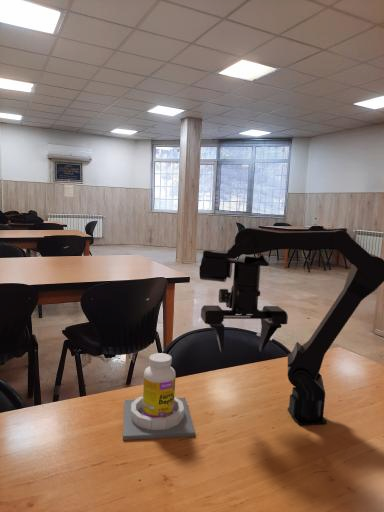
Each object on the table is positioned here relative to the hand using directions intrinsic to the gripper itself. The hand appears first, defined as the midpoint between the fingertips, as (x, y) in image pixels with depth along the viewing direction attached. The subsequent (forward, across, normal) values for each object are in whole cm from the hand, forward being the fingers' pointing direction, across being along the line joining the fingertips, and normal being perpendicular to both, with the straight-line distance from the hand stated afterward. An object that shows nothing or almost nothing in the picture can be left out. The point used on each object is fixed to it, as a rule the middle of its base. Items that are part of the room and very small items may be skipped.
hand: (241, 351), depth 86 cm
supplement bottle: (+13, +19, +4) cm, 23 cm away
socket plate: (+13, +19, +4) cm, 23 cm away
